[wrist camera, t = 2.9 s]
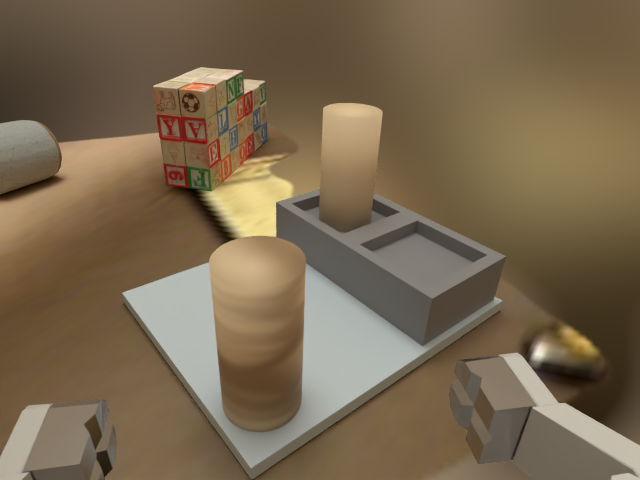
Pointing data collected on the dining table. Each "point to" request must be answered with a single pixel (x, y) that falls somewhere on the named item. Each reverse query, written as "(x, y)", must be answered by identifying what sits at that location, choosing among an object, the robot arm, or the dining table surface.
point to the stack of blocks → (209, 125)
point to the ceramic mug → (26, 154)
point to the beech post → (259, 329)
